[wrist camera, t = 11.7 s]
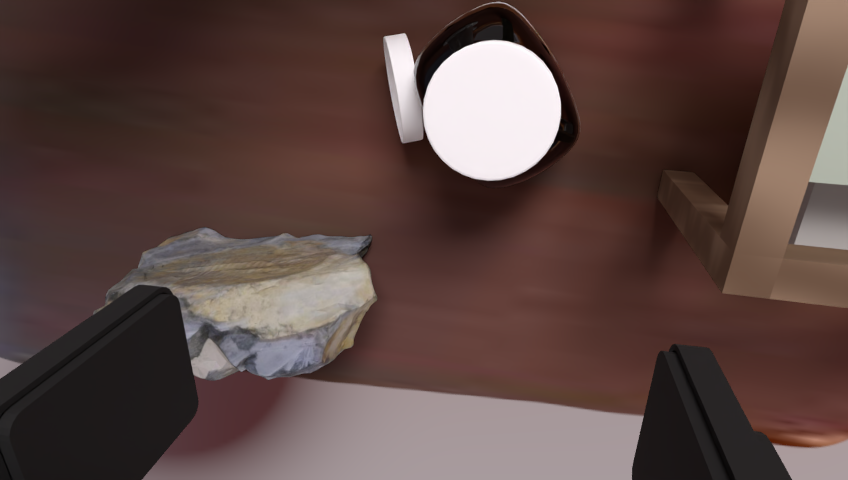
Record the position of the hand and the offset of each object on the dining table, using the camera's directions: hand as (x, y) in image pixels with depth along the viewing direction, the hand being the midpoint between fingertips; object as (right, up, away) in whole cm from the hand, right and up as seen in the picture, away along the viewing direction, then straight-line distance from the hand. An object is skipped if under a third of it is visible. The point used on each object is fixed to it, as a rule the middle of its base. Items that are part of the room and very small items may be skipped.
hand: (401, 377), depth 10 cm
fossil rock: (-12, -1, +36) cm, 38 cm away
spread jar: (+4, +13, +27) cm, 30 cm away
